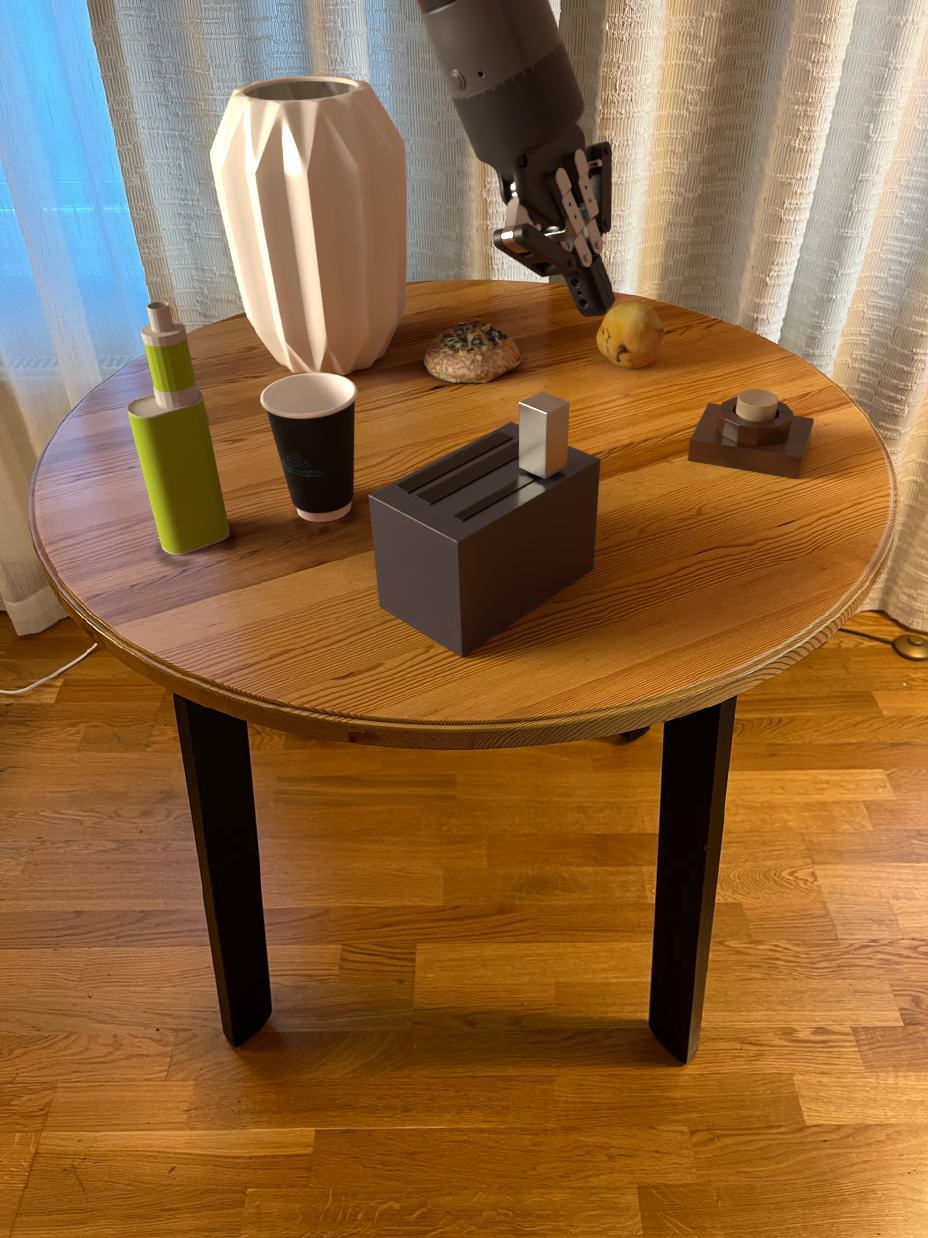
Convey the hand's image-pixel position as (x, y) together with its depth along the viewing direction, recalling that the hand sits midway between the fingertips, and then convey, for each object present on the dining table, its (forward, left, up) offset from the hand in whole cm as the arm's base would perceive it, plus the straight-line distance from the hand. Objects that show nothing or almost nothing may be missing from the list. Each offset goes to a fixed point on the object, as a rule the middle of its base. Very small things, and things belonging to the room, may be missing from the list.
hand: (599, 310), depth 72 cm
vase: (+38, -26, -20) cm, 51 cm away
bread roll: (+22, -29, -20) cm, 42 cm away
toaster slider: (+2, +7, -10) cm, 12 cm away
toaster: (+5, +9, -20) cm, 22 cm away
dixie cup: (+23, +3, -20) cm, 31 cm away
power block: (-10, -20, -20) cm, 30 cm away
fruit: (+6, -35, -20) cm, 41 cm away
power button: (-10, -20, -16) cm, 28 cm away
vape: (+31, +11, -20) cm, 39 cm away
